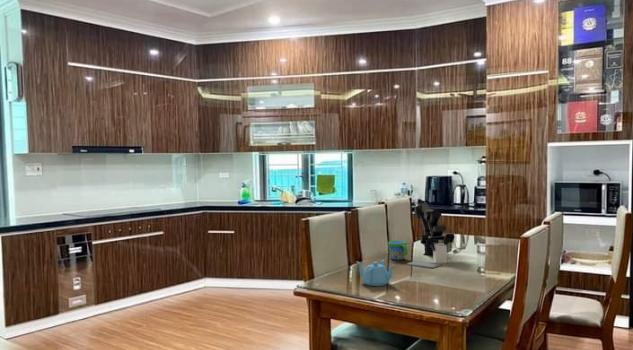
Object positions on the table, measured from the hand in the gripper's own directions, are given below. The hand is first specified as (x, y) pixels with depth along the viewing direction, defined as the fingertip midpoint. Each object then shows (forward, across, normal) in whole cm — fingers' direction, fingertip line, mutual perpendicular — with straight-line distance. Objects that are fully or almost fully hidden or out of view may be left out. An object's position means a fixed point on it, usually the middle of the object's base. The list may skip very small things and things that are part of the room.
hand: (440, 250), depth 258 cm
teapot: (+32, -42, -23) cm, 57 cm away
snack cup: (-5, -22, +14) cm, 27 cm away
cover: (+4, 0, +6) cm, 7 cm away
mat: (+8, -11, +1) cm, 13 cm away
